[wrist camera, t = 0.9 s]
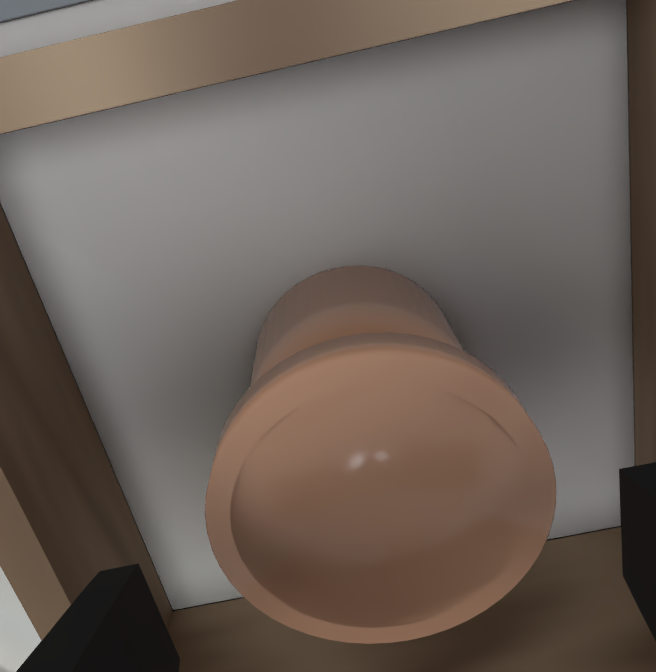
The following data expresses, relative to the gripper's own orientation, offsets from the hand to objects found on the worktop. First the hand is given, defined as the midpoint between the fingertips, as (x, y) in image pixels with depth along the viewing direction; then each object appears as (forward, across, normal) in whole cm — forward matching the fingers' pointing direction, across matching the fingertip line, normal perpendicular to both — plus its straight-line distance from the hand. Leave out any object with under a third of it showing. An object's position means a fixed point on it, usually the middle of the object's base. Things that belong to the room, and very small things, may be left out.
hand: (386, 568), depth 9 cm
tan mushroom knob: (+7, 0, 0) cm, 7 cm away
